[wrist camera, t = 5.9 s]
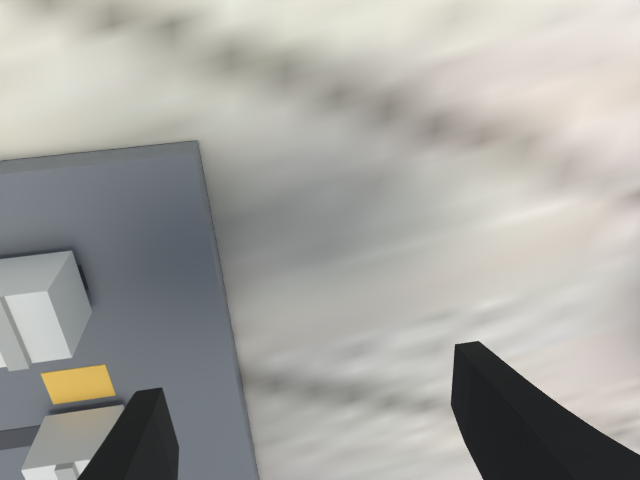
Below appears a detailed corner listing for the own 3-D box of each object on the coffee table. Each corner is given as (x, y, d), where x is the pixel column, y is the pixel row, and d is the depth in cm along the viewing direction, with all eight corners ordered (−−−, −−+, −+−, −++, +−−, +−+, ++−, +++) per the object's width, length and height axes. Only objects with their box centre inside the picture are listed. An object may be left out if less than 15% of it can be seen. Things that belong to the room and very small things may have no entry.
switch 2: (137, 448, 22) (124, 508, 19) (63, 459, 21) (41, 522, 19) (123, 404, 20) (107, 462, 18) (44, 416, 20) (18, 476, 18)
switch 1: (92, 311, 18) (69, 363, 16) (4, 323, 18) (-33, 377, 16) (71, 250, 17) (44, 295, 15) (-23, 261, 17) (-67, 309, 14)
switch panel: (269, 532, 28) (270, 560, 27) (-80, 592, 27) (-97, 625, 25) (197, 140, 18) (193, 154, 17) (-375, 200, 16) (-431, 220, 15)
